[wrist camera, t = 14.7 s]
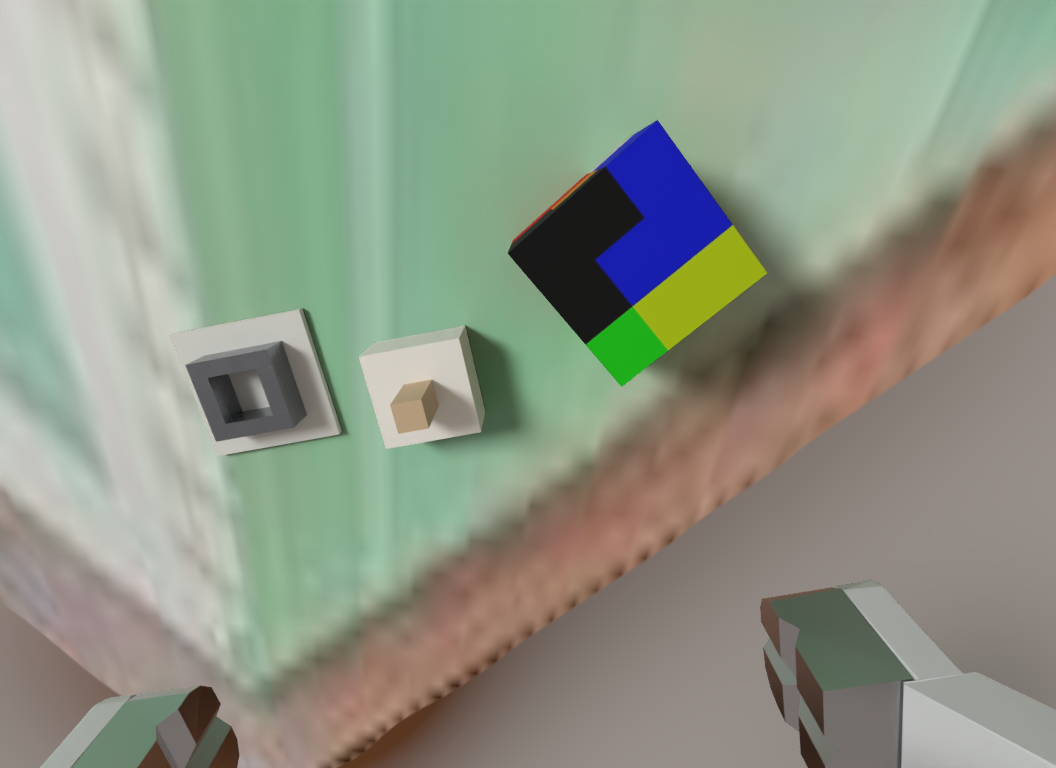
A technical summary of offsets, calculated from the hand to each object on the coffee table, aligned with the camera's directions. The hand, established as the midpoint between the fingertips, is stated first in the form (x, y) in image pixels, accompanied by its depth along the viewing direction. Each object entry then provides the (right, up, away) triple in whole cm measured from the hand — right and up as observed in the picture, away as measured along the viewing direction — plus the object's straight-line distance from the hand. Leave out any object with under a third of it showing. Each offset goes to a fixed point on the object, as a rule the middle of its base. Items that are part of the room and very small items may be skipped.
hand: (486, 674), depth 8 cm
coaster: (-20, +4, +35) cm, 40 cm away
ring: (-20, +4, +34) cm, 40 cm away
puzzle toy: (+7, +14, +32) cm, 35 cm away
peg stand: (-7, +5, +34) cm, 35 cm away
